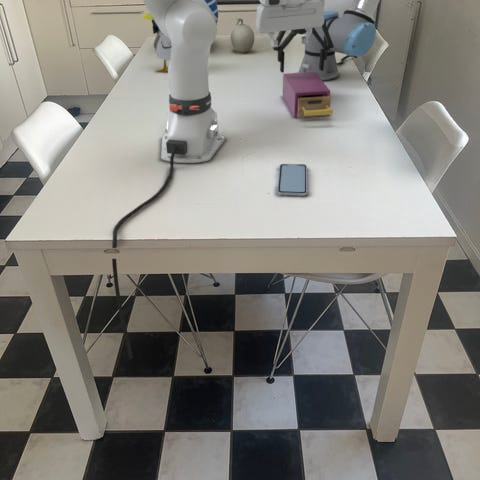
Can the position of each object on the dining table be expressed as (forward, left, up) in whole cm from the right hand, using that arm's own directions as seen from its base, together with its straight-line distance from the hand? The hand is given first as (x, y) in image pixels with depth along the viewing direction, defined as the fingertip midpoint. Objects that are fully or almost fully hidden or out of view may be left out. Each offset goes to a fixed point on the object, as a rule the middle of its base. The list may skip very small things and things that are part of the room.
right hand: (301, 70), depth 175 cm
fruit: (-56, -36, -10) cm, 67 cm away
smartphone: (+59, +8, -10) cm, 61 cm away
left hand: (+17, -1, +13) cm, 21 cm away
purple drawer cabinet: (+5, +2, -10) cm, 12 cm away
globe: (-55, -62, -10) cm, 83 cm away
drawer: (+11, +5, -9) cm, 15 cm away
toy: (-23, -57, -10) cm, 62 cm away
